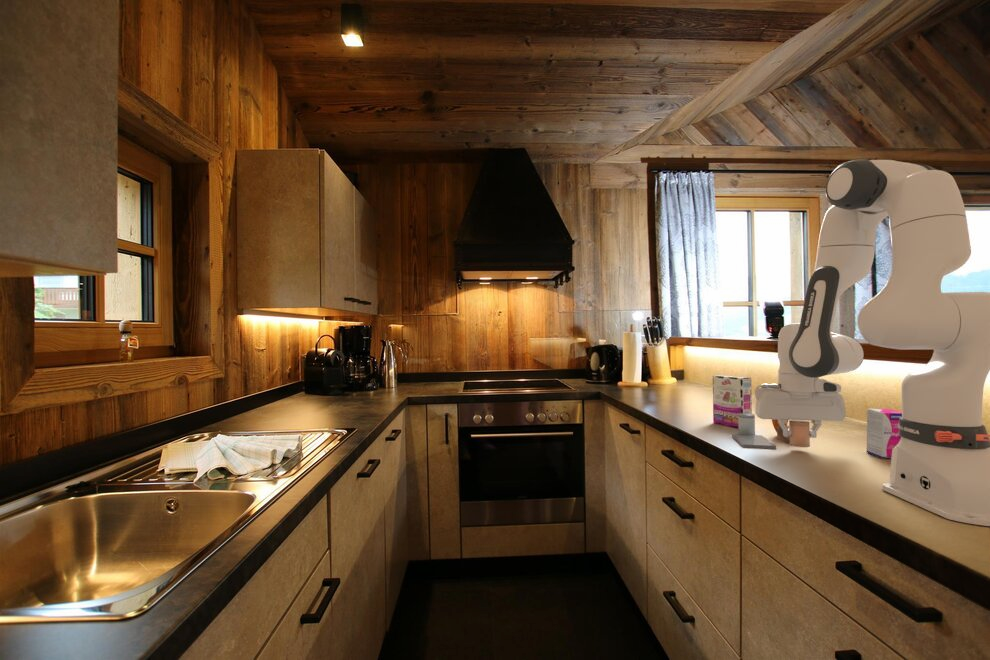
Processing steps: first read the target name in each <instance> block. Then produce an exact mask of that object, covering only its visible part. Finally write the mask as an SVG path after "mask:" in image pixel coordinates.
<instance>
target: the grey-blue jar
mask: <svg viewBox="0 0 990 660" xmlns="http://www.w3.org/2000/svg"><path fill="white" fill-rule="evenodd" d="M737 429H738V434H739V435H756V414H754V413H752V414H750V413H739V414H738V428H737Z"/></svg>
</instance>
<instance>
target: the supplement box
mask: <svg viewBox="0 0 990 660" xmlns="http://www.w3.org/2000/svg"><path fill="white" fill-rule="evenodd" d="M900 417H902V411H899V410H895V409H893V408H867V409H866V453H867V452H868V453H867V454H869V453H870V454H869V455H871V454H873V455H872V456H874V455H875V456H874V457H876V456H878V457H877V458H879V457H880V458H879V459H882V458H891V457H892V450H893V448H894V447H895V446H896V445H897V444H898V443H899V441H900V439H901V436H900V435H899V428H898V424H899V418H900Z"/></svg>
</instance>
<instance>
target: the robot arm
mask: <svg viewBox="0 0 990 660" xmlns="http://www.w3.org/2000/svg"><path fill="white" fill-rule="evenodd" d="M825 196H826V199H827V201H828V203H830V204H831V205H832V206H830V207H829V208H828V210H826V212H825V215H824V218H823V220H822V224H821V227H820V231H819V238H818V244H817V251H816V260H815V264H814V268H813V269H814V270H813V273H811V276H810V279H809V281H808V285H807V289H806V294H805V297H804V303H803V306H802V312H801V317H800V322H793V323H790V324H789V323H788V324H786V325H784V326H783V327H781V329H780V330H779V334H778V339H777V359H778V361H779V368H778V371H777V372H778V383H769V384H768V383H762V384H760V385H758V386H756V388H755V389H754V394H755V395H754V396H755V400H756V401H755V410H754V411H755V412H754V413H755V414H754V415H755V416H756V417H757V418H759V419H761V420H772V419H778V423H779V425H780V426H781V428H782V429H783V436H784V437H792V434H791V433H792V431H791V430H789V429H787V427H786V426H785V424H787V425H788V423H787V420H788V421H790V420H802V421H811V424H812V426H811V428H810V439H811V438H812V439H813V438H815V439H816V438H817V436H818V435H817V432H818V430H819V429H820V428H821V426H822V422H824V421H825V422H826V421H827V422H832V421H834V422H835V421H836V422H843V421H844V420H845V418H846V416H847V415H846V412H847V411H846V404H845V403H846V402H845V399H844V396H843V395H842V394H840V393H841V391H842V385H841V384H839V383H836V382H832V381H829V380H827V379H824V378H823V379H822V377H826V376H830V375H839V374H846V373H850V372H853V371H855V370H857V369H858V368H859V367H860V366H861V365H862V364H863V361H864V357H865V351H864V348H863V346H862V345H861V343H860V342H859V341H858V340H857V339H856V338H854V337H852V336H847V335H845V334H839V333H837V332H833V331H832V330H833V325H834V321H835V315H836V310H837V304H838V301H839V299H840V297H841V296H842V294H843V293H844V292H845V291H847V289H849V288H850V287H852V286H853V285H856V284H857V283H859V282H861V281H862V280H863V279H865V278H866V277H867V276H868V275H869V274H870V271H871V268H872V266H873V263H874V258H875V252H876V243H877V242H876V240H877V231H878V230H877V229H878V227H879V225H880V223H881V222H883V220H884V219H886V218H887V219H889V231H890V240H891V255H892V256H891V257H892V259H891V262H892V264H891V271H890V275H889V277H888V279H887V281H886V283H885V285H884V286H883V288H882V289H881V290H880V291H879V292H878V293H877V294H875V295H874V296H873V297H872V298H871V299H869V300H867V302H865V303H864V305H863V306H862V307H861V309H860V310H859V312H858V316H857V324H856V325H857V329H858V331H859V333H860V335H861V337H862V338H863V339H864V341H866V343H868V344H869V345H871V346H876V347H881V348H886V349H894V350H902V351H903V350H907V351H908V350H910V351H911V350H933V353H932V356H931V358H930V360H929V361H928V362H927V363H926V364H925V365H924V366H923V367H921V368H918V369H916V370H914V371H912V372H910V373H908V374H907V375H906V376H905V377H904V379H903V380H902V383H901V412H902V417H900V418H899V424H898V428H899V435H900V436H901V439H900V441H899V443H898V444H897V445H896V446H895V447H894V448H893V450H892V457H891V459H890V469H889V481H888V482H885V483H883V484H882V486H881V487H882V488H881V489H882V491H885V492H887V493H889V494H891V495H894V496H896V497H898V498H900V499H902V500H905V501H906V502H909V503H912V504H913V505H915V506H918V507H920V508H922V509H925V510H926V511H929V512H931V513H932V514H936V515H938V516H941V517H943V518H945V519H947V520H951V521H955V522H959V523H964V524H969V525H970V524H971V525H972V524H973V525H976V526H984V527H985V526H986V527H990V434H989V433H988V432H987V428H986V426H985V425H984V424H983V399H984V388H985V384H986V383H985V382H986V381H987V377H988V374H989V373H990V292H988V291H964V292H963V291H961V292H943V291H942V286H941V285H942V281H943V278H944V277H945V276H946V275H947V276H948V275H949V274H951V273H953V272H955V271H957V270H959V269H961V267H963V266H964V265H965V264H966V263H967V262H968V261H969V259H970V257H971V254H972V248H971V241H970V233H969V226H968V220H967V213H966V208H965V204H964V200H963V197H962V194H961V192H960V188H959V187H958V185H957V182H956V180H955V178H954V177H953V175H951V174H950V173H949V172H947V171H945V170H941V169H940V170H939V169H936V168H934V167H933V166H930V165H926V164H924V163H911V162H903V161H897V160H892V159H866V158H865V159H864V158H862V159H852V160H849V161H845V162H843V163H840V164H839V165H838V166H837V167H836V168H835V169H834V170H833V171H832V172H831V174H829V177H828V178H827V181H826V185H825Z"/></svg>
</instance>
